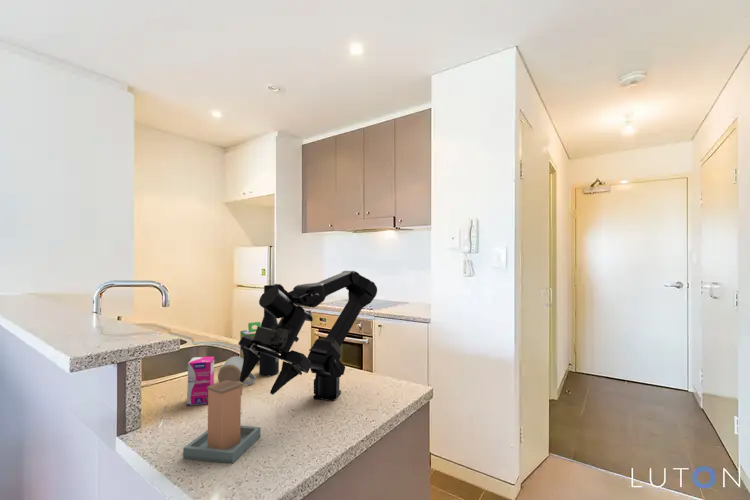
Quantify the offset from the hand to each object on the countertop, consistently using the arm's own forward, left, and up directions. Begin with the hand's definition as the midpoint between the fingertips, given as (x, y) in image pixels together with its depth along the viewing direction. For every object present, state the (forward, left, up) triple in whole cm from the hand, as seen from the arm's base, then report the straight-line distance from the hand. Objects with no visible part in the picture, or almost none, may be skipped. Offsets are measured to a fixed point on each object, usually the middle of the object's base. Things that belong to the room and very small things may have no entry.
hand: (255, 387), depth 82 cm
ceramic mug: (+21, -26, -9) cm, 35 cm away
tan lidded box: (+2, +9, -9) cm, 13 cm away
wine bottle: (+16, -38, -9) cm, 42 cm away
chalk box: (+28, -50, -9) cm, 57 cm away
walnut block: (+16, -16, -9) cm, 24 cm away
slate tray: (+2, +9, -9) cm, 13 cm away
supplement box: (+23, -12, -9) cm, 27 cm away
